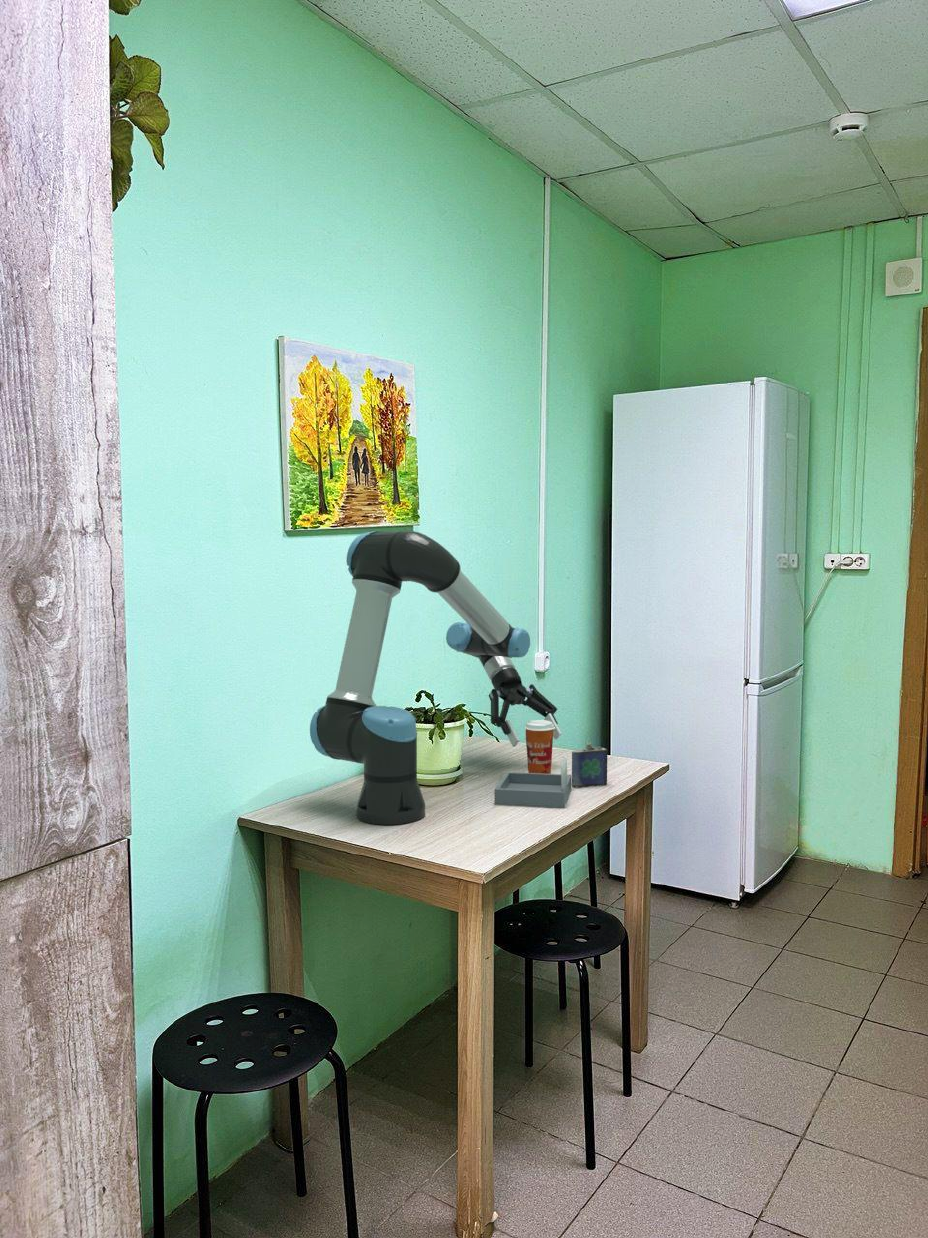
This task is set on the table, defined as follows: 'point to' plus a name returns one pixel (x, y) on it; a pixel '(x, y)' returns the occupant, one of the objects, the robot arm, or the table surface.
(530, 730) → the paper cup
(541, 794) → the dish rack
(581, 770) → the flask
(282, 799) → the table surface
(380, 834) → the table surface
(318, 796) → the table surface
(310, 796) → the table surface
